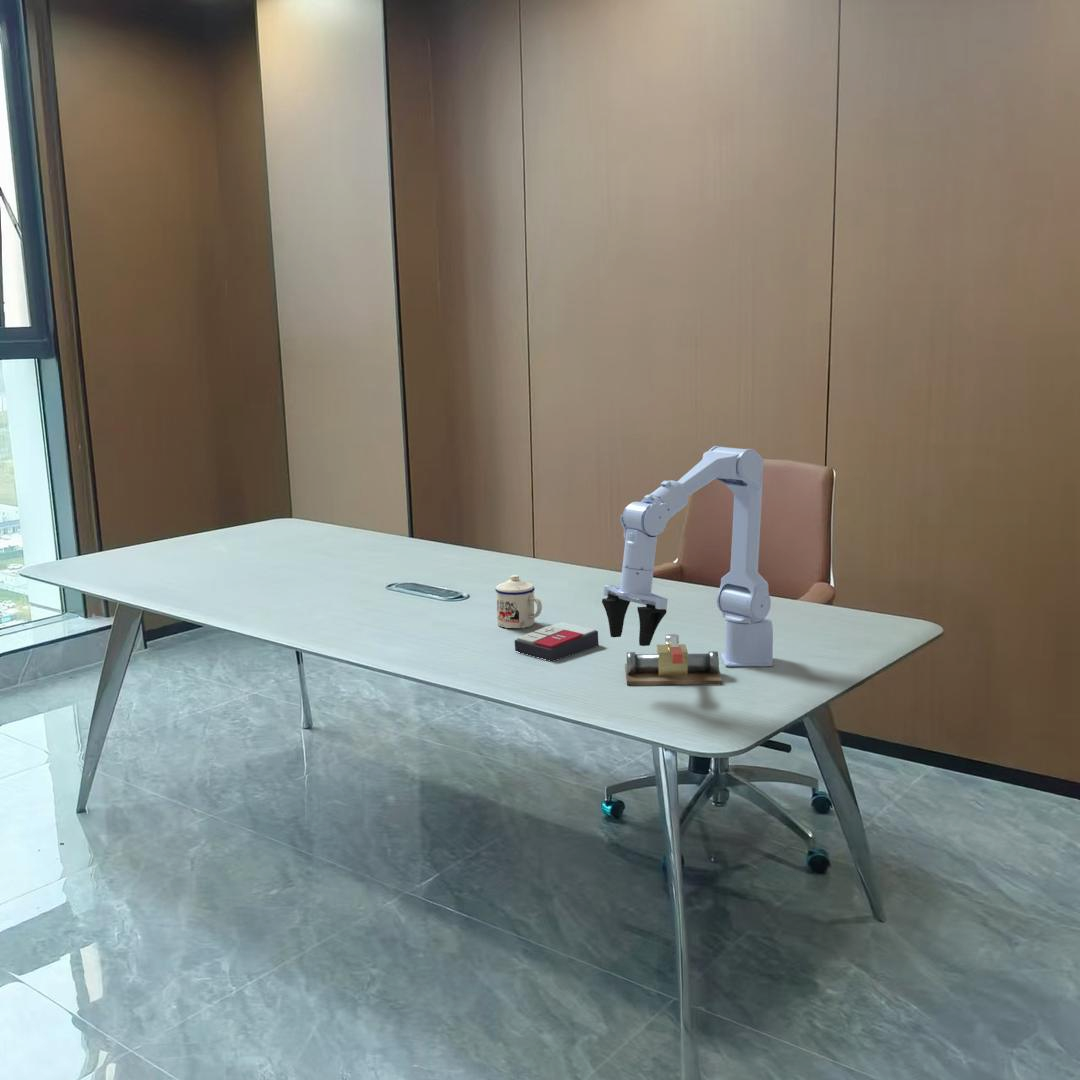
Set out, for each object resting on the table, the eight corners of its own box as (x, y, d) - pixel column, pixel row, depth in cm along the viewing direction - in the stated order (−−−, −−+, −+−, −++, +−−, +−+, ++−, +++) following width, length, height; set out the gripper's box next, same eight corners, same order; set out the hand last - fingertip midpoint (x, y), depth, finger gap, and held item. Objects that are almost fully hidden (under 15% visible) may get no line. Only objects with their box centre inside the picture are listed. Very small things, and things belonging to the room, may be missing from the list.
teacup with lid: (488, 626, 248) (486, 577, 246) (513, 617, 255) (511, 569, 253) (529, 633, 241) (528, 583, 239) (553, 624, 248) (552, 575, 246)
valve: (715, 669, 211) (716, 640, 210) (718, 677, 206) (719, 648, 205) (626, 670, 212) (626, 641, 211) (627, 678, 207) (627, 649, 206)
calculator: (513, 636, 227) (561, 619, 237) (514, 656, 228) (562, 637, 238) (550, 646, 219) (598, 627, 230) (552, 666, 220) (599, 646, 231)
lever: (678, 641, 209) (678, 632, 209) (684, 663, 195) (684, 654, 195) (664, 641, 209) (664, 632, 209) (670, 663, 195) (670, 654, 195)
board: (715, 666, 214) (715, 662, 214) (721, 684, 203) (721, 680, 203) (625, 667, 215) (624, 663, 215) (627, 685, 204) (626, 681, 204)
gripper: (595, 561, 198) (587, 633, 199) (651, 574, 187) (642, 650, 188) (622, 562, 203) (614, 632, 204) (678, 574, 192) (670, 648, 193)
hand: (629, 641), depth 196 cm, fingers open, 7 cm apart
